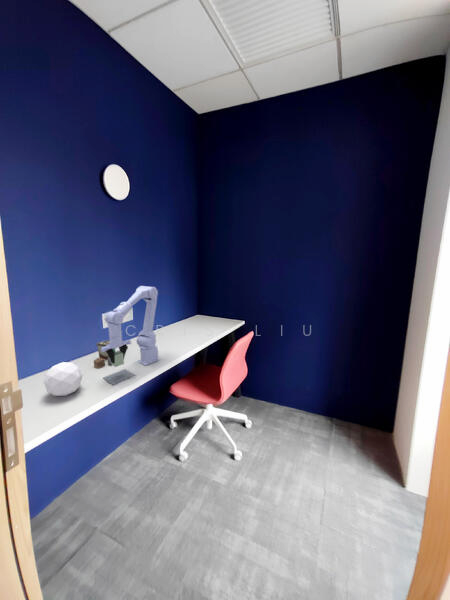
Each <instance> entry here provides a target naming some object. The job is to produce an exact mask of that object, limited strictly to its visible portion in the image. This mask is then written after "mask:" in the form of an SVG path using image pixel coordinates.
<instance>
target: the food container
mask: <svg viewBox="0 0 450 600" xmlns="http://www.w3.org/2000/svg"><path fill="white" fill-rule="evenodd" d="M109 344H110V340H103V341H99V342H96V347H97V352H98V358H102V359H105V361H108V357H109V355H108V354H107V352H106V351H105V352H101V348H102V347H104V346H106V345H109ZM112 350H113V351H114V352H116V348H114V349H112Z"/></svg>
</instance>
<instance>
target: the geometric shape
mask: <svg viewBox="0 0 450 600" xmlns="http://www.w3.org/2000/svg"><path fill="white" fill-rule="evenodd" d="M80 368H81V367H79V366H78V365H76V364H75V363H74V362H65V361H62V362H60V363H57V364H55V365H52V366H51V367H50V369H49V370H48V371H47V372H46V373H45V375H44V376H45V377H44V380H43V384H44V387H45V390H46V392H48V393H49V394H51V395H52V396H55V397H56V396H58V397H66V396H68V395H70V394H72V393H74V392H76V390H77V389H78V388H79V387H80V385H81V383H82V380H83V379H82V378H83V373H82V371H81V369H80Z"/></svg>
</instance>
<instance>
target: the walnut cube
mask: <svg viewBox="0 0 450 600" xmlns="http://www.w3.org/2000/svg"><path fill="white" fill-rule="evenodd" d="M93 366H94V368H96V369H98V370H99V369H101V368H104V367H106V360H105V359H102V358H99V357H98V358H96V359H94V360H93Z"/></svg>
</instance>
